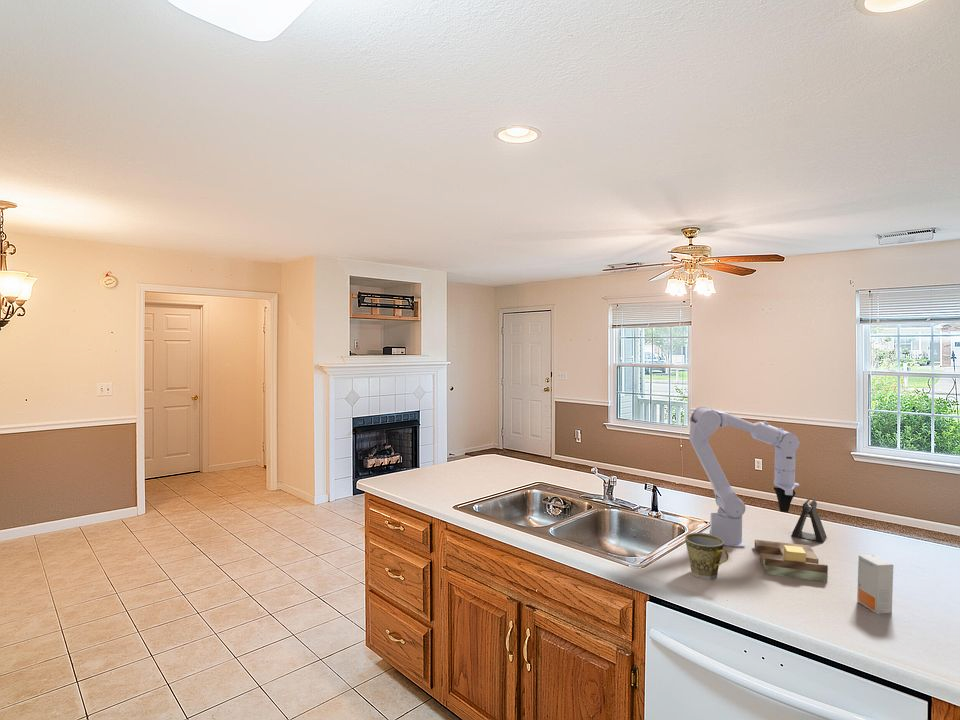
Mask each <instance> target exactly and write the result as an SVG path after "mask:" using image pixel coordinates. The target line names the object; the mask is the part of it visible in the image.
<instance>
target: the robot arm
mask: <svg viewBox="0 0 960 720" xmlns="http://www.w3.org/2000/svg"><path fill="white" fill-rule="evenodd" d="M689 424H690V426H689V436H688V437H689V442H690V444H691V446H692V448H693V450H694V451H695V454H696V456H697V458H698V460H699V462H700V464H701V466H702V468H703V470H704V472H705V474H706V476H707V478H708V480H709V482H710V484H711V485H712V487H713V494H714V496H715V497H714V499H715V504H716V505H717V507H718V509H717V512H711V513H710V524H709V526H710V529H709V534H711V535H715V536H717V537H720V538H721V539H723V541H724V546H729V547H737V548H745V546H746V545H745V543H744V540H743V516H744V514H745V513H746V509H747V508H746V504H745V502H744V501H743V500H742V499H741V498H740V497H738V495H737V493H736V491H735V490H734V489H733V488H732V486H731V485H730V482H729V480H728V478H727V477H726V474H725V473H724V470H723V469H722V466H721V464H720V463H719V461H718V459H717V456H716V454H715V453H714V450H713V449H712V447H711V444H710V443H709V440H710V438H711V436H712V434H713V433H715V432H716V431H717V429H719V427H721V428H724V427H727V426H730V427H732V428H736V429H739V430H742V431H744V432H747V433H750V436H751V437H752V439H754V440H757V441H760V442H762V443H765V444H767V445H770V446H774V472H773V474H774V475H773V476H774V477H773V478H774V480H773V485H774V487H773V490H774V492H775V495H776V498H777V503H778V508H779V512H781V513H789V510H790V507H791V503H792V500H793V499H794V497H795V495H796V494H797V493H796V491H795V488H796V487H797V488H799V487H800V483H798V482H796V455H797V454H796V451H797V450H798V449H799V448H800V445H801V442H800V441H799V438H798V437H797V435H796V434H794V433H791V432H790V431H787V430H785V429H784V428H783V427H776V426H773V425H770V423H769V422H767V421H764V420H763V421H757V422H754V423H752V422H750V421H748V420H745V419H743V418H741V417H738V416H735V415H733V414H730V413H727V412H725V411H722V410H717V409H712V408H710V409H709V408H708V407H706V406H699V407H696V408H695V409H694V410H693V412H692V414H691V416H690V417H689Z"/></svg>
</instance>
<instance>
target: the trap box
mask: <svg viewBox="0 0 960 720" xmlns="http://www.w3.org/2000/svg"><path fill="white" fill-rule="evenodd" d="M784 545H787V546H796V547H802V548H803V549H804V551H805V553H806V562H798V561H790V560H784ZM754 550H755V552H756V554H759V562H760V564H761V567H762V571H763V572H764V575H772V576H780V577H787V578H795V579H801V580H803V579H804V580H810V581H817V582H825V583H828V578H829V577H828V575H829V573H828V571H829V564H823V563H819V562H820V561H819V558H818V556H817V554H816V553H815V551H814V549H812V546H811V545H806V544H799V543H792V542H791V543H790V542H782V541H781V542H779V541H772V540H771V541H770V540H763V539H754Z"/></svg>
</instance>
